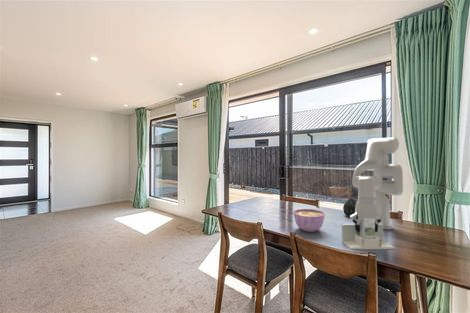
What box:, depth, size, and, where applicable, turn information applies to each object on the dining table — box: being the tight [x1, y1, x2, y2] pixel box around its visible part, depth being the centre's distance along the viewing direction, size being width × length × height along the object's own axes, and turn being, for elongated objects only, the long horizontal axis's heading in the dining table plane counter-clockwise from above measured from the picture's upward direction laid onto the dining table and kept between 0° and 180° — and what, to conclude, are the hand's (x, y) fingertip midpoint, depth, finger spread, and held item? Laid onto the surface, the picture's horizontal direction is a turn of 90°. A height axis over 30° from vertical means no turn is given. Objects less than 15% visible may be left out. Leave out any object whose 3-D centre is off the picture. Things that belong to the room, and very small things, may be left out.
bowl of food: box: [292, 208, 326, 233], centre depth 148 cm, size 20×20×12 cm
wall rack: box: [341, 223, 395, 250], centre depth 122 cm, size 11×22×10 cm, turn 88°
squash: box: [342, 197, 358, 217], centre depth 177 cm, size 14×15×15 cm
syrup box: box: [359, 218, 375, 239], centre depth 122 cm, size 6×6×14 cm
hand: (366, 231), depth 122 cm, fingers open, 9 cm apart
